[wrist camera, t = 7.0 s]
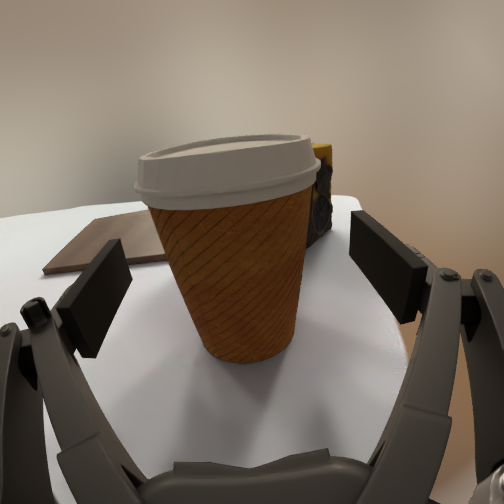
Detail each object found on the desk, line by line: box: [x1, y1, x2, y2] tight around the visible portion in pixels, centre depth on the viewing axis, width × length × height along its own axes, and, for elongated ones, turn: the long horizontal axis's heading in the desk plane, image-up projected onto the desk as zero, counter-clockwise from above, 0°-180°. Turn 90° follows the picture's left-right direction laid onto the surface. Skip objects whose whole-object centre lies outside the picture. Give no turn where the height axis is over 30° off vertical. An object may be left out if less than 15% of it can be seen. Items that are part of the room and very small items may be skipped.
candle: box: [305, 143, 333, 248], centre depth 30 cm, size 10×10×10 cm
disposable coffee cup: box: [134, 134, 321, 363], centre depth 16 cm, size 10×10×12 cm
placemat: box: [42, 210, 167, 275], centre depth 37 cm, size 18×18×1 cm
